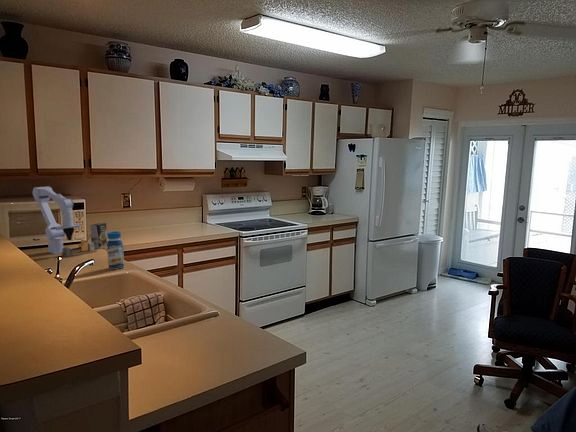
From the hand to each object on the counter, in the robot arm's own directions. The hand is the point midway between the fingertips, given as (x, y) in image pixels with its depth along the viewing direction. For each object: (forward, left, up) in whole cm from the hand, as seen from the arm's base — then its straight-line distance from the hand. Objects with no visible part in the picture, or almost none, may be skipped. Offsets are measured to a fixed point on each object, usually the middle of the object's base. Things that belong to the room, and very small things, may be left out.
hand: (69, 240), depth 272 cm
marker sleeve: (+2, +7, -8) cm, 11 cm away
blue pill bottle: (+55, -1, -10) cm, 56 cm away
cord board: (+2, +5, -9) cm, 11 cm away
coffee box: (-5, +22, -10) cm, 25 cm away
